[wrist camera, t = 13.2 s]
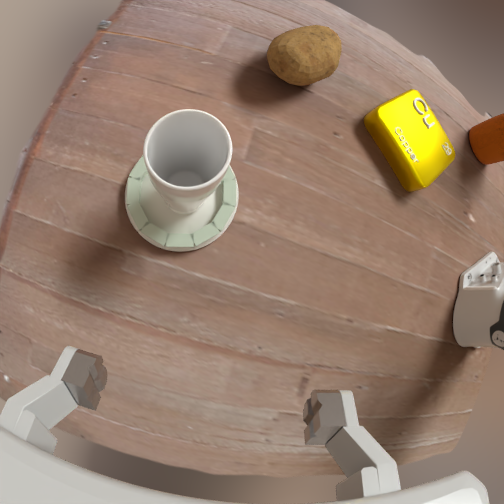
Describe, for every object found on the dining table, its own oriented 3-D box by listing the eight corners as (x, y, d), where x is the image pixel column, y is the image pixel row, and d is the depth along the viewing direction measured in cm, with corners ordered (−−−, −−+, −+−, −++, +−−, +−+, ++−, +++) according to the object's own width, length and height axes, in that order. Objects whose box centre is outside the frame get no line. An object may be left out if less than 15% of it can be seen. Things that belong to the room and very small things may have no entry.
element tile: (357, 119, 42) (374, 107, 38) (402, 95, 46) (417, 85, 41) (406, 197, 44) (425, 191, 39) (443, 161, 47) (460, 155, 42)
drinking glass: (145, 201, 34) (123, 159, 19) (178, 156, 35) (179, 93, 20) (191, 232, 35) (198, 210, 20) (223, 186, 36) (251, 138, 21)
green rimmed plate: (205, 125, 36) (206, 119, 34) (257, 216, 37) (261, 214, 36) (108, 174, 33) (105, 170, 31) (158, 273, 34) (157, 273, 33)
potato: (341, 69, 42) (364, 45, 34) (294, 110, 39) (317, 82, 32) (298, 34, 40) (316, 6, 33) (245, 69, 38) (258, 36, 30)
